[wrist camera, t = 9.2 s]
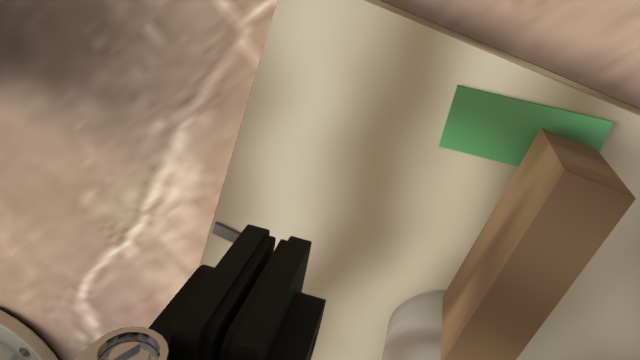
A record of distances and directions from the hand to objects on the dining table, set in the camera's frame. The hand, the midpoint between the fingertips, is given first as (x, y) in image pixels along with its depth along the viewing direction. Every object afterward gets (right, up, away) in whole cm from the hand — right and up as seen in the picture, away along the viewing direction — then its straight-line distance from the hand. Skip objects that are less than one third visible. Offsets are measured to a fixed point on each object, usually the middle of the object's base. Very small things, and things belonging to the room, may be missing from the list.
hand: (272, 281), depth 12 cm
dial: (+8, -1, +8) cm, 11 cm away
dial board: (+7, -4, +12) cm, 14 cm away
